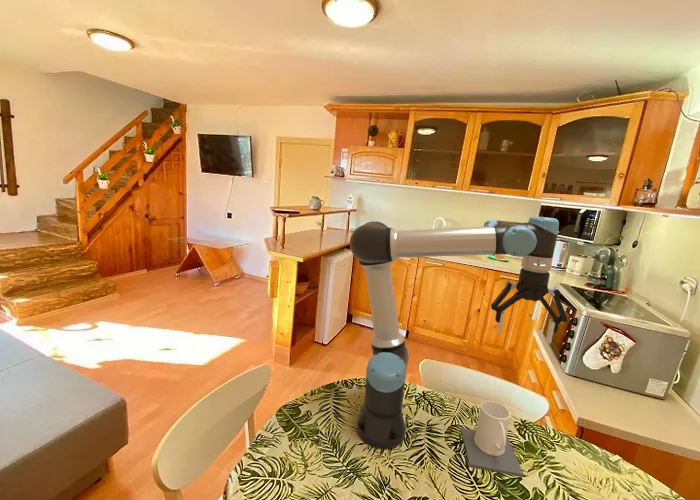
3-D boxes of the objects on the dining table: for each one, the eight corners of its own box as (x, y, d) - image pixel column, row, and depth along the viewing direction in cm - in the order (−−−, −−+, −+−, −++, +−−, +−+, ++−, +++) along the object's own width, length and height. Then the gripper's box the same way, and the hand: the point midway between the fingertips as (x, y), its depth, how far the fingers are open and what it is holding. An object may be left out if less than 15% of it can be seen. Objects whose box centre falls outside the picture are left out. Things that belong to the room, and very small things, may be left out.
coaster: (469, 466, 86) (470, 464, 86) (460, 429, 100) (460, 427, 100) (523, 477, 84) (523, 474, 84) (506, 437, 98) (506, 435, 97)
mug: (513, 468, 86) (521, 430, 83) (481, 463, 87) (488, 425, 84) (498, 435, 97) (504, 401, 95) (470, 431, 98) (476, 397, 96)
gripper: (490, 266, 92) (480, 333, 95) (590, 279, 84) (574, 351, 88) (488, 261, 99) (478, 323, 102) (580, 273, 91) (566, 340, 95)
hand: (523, 336), depth 95 cm, fingers open, 13 cm apart
